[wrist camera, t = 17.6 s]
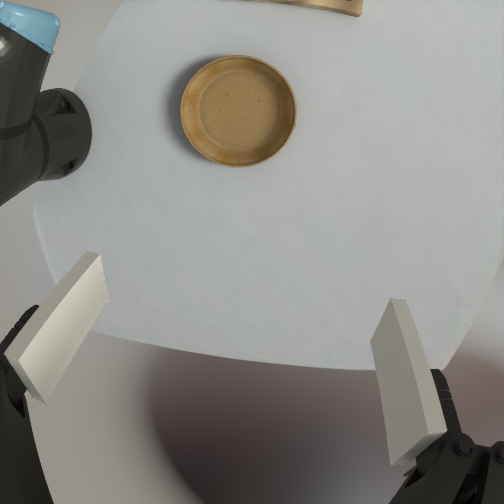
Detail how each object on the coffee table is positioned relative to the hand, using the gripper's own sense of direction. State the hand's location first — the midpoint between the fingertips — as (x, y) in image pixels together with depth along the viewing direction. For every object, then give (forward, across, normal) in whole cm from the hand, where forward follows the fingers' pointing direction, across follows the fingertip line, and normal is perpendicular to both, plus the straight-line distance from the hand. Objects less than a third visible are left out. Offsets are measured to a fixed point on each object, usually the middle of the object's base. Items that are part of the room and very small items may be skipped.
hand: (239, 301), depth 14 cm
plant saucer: (+32, -5, +4) cm, 33 cm away
